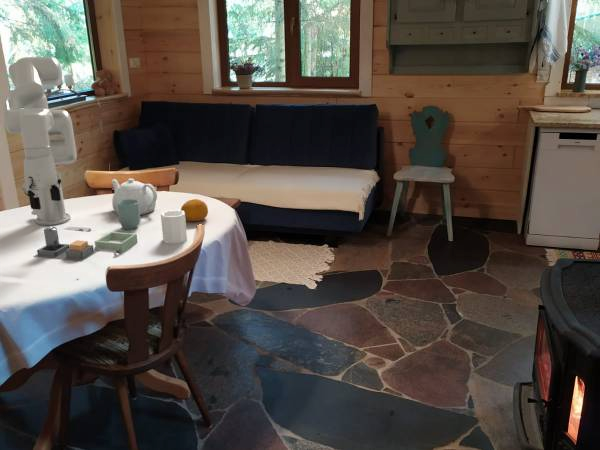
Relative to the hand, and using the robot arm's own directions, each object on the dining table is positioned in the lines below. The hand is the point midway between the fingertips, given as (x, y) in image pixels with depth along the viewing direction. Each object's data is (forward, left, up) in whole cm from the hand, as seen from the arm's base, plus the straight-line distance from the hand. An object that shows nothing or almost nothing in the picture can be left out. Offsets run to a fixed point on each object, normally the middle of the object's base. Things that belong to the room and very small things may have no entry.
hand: (46, 204), depth 180 cm
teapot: (+1, +50, -18) cm, 53 cm away
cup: (+10, +31, -18) cm, 37 cm away
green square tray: (+16, +12, -18) cm, 27 cm away
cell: (0, 0, -17) cm, 17 cm away
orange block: (+10, 0, -15) cm, 18 cm away
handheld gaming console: (-7, +17, -18) cm, 26 cm away
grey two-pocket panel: (+5, 0, -18) cm, 18 cm away
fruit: (+30, +45, -18) cm, 57 cm away
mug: (+32, +25, -18) cm, 44 cm away
